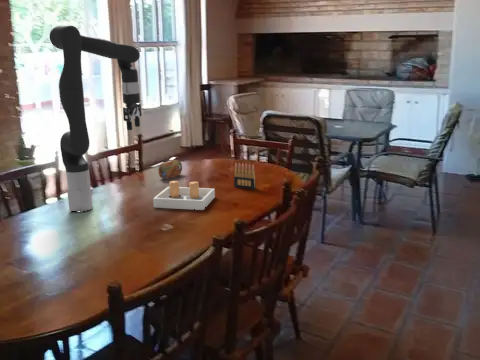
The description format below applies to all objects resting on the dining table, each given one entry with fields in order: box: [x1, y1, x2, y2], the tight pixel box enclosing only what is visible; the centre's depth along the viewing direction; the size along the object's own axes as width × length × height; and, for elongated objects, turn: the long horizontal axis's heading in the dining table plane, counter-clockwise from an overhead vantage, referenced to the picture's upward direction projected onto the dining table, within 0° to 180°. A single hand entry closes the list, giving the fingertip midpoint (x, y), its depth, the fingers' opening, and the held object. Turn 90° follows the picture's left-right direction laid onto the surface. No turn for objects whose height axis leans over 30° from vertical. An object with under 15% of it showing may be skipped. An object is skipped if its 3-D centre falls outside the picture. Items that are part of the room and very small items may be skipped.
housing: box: [152, 181, 216, 211], centre depth 236 cm, size 18×22×9 cm
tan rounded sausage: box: [169, 180, 180, 198], centre depth 237 cm, size 4×4×8 cm
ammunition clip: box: [233, 162, 257, 190], centre depth 255 cm, size 11×2×12 cm, turn 64°
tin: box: [158, 159, 183, 180], centre depth 277 cm, size 15×3×8 cm, turn 143°
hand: (133, 128), depth 247 cm, fingers open, 8 cm apart
